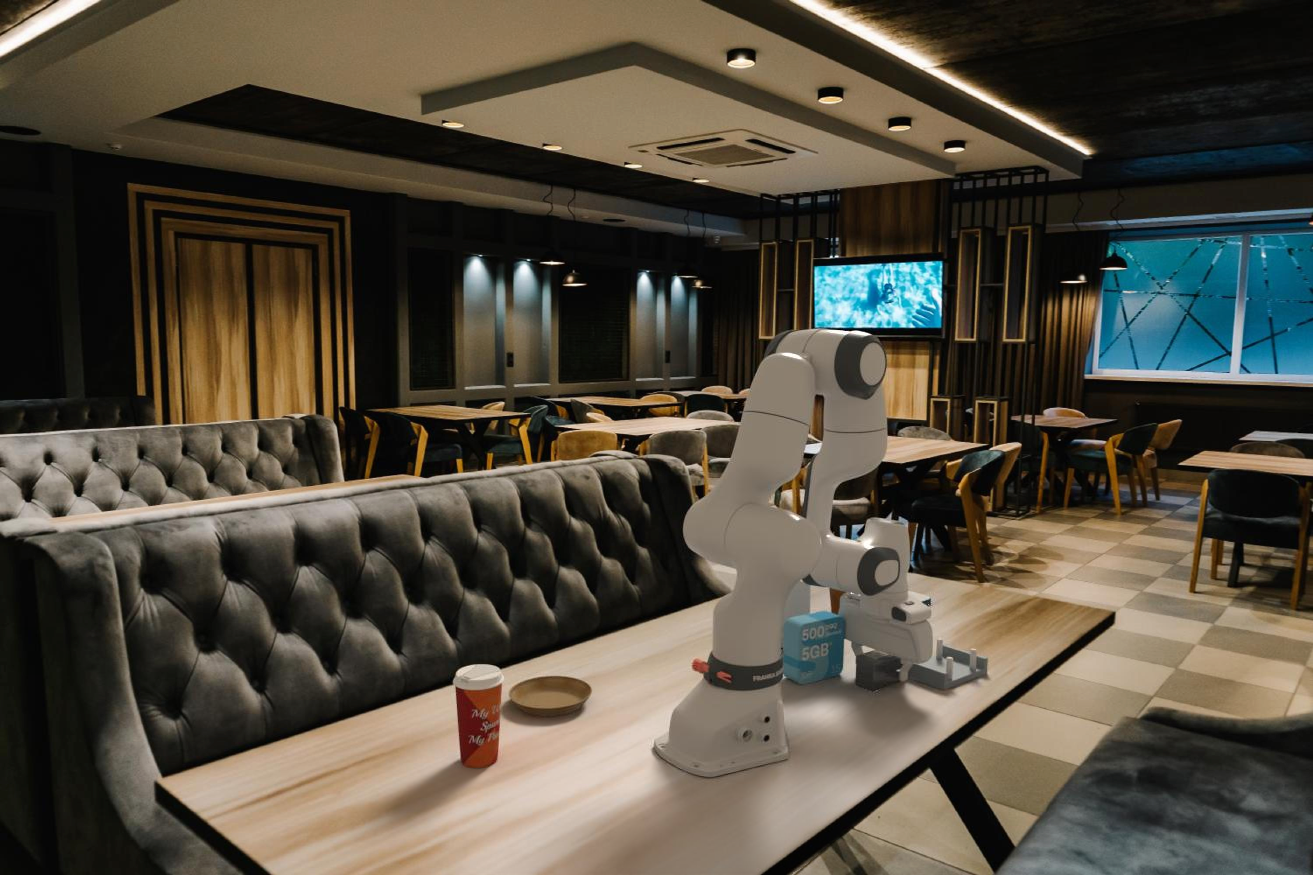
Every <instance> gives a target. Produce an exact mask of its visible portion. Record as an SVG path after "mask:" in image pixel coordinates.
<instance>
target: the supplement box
mask: <svg viewBox="0 0 1313 875" xmlns="http://www.w3.org/2000/svg"><path fill="white" fill-rule="evenodd" d="M811 587H812V585H808V584H806V583H804V582H803V581H802V580H800V581H799V582H798V583H797V584H796V585H795V586H794V588H793V589H792V591H791V592H790V594H789V596H788V599H787V601H786V604H785V608H784V612H783V620H782V634H781V649H783V640H784V624H785V622H786V620H787V619H788V618H791V617H796V616H801V615H806V614H811V597H812V596H811V594H812V593H811V589H812V588H811Z"/></svg>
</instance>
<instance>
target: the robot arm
mask: <svg viewBox="0 0 1313 875" xmlns="http://www.w3.org/2000/svg"><path fill="white" fill-rule="evenodd" d="M887 358H888V357H887V353H886V350H885V348H884V346H883V344H882V342H881V341H880V339H879V338H878V337H877V336H876V335H873V334H871V333H868V332H865V331H860V330H851V331H849V330H848V331H847V330H846V331H845V330H838V329H828V328H811V329H810V328H808V329H803V330H798V329H790V330H786V331H783V332H780V333H778V334H776V335H774V337H773V338H772V339H771V340H770V342H769V343H768V346H767V347H766V349H765V353H764V356H763V359H762V361H761V362H760V363H759V365H758V368H757V371H756V373H755V375H754V377H753V380H752V381H751V385H750V388H749V390H748V393H747V396H746V399H745V404H744V407H743V411H742V415H741V420H740V424H739V428H738V432H737V435H736V439H735V442H734V446H733V450H732V453H731V455H730V456H731V457H730V459H729V461H728V462H727V465H726V467H725V469H724V471H723V473H722V474H721V476H720V478H719V479H718V480H717V482H716V484H714V486H713V488H712V489H710V491H709V492H707V494H705V496H704V497H702V498H700V499H698V500H697V501H695V502H694V503H693V504H692V505H691V506H690V508H689V509H688V510H687V512H686V514H685V516H684V520H683V527H682V534H683V535H682V536H683V538H684V541H685V544H686V546H687V547H688V549H690V550H691V551H692V552H694V554H695V553H696V554H697V555H698V556H700V557H701V558H703V559H705V560H707V561H709V562H710V563H714V564H717V565H719V566H723V567H724V566H725V567H727V568H732V569H733V570H734V569H735V570H736V581H735V584H734V587H733V590H732V592H730V593H727V594H726V595H724V596H722V597H721V598H720V599H719V600H717V602H716V603H715V605H714V608H713V611H712V649H711V651H710V652H709V655H708V658H707V661H704V660H702V659H701V658H695V659H693V660H692V662H691V665H690V666H691V669H692V671H694V672H698V673H699V674H700V675H701V674H702V676H703V678H701V680H700V681H699V682H698V683H697V684H696V685H695V686H694V687H693V688H692V690H690V692H689V693H688V694H687V695H686V696H685V697H684V698H683V699H682V700H681V701H680V702H679V703H678V704H677V705H676V706H675V707H674V708H673V710H672V713H671V716H670V721H669V727H668V728H669V729H668V732H667V733H664V734H663V735H660V736H659V737H657V738H655V739H654V742H653V747H654V750H655V752H656V753H657V754H658V755H659V757H661V758H662V759H663V760H664V761H666V762H668V763H669V764H671V765H673V766H674V767H676V768H679V769H680V770H682V771H685V772H686V773H687V772H688V773H689V774H693V775H696V776H701V777H705V778H713V777H718V776H722V775H725V774H730V773H735V772H739V771H743V770H747V769H752V768H756V767H759V766H763V765H767V764H773V763H775V762H781V761H785V760H787V759H789V758H790V752H789V747H788V744H789V741H790V740H789V737H788V733H787V728H786V723H785V712H784V703H783V695H782V687H781V681H782V680H783V679H784V674H783V670H784V666H783V653H781V652H782V648H781V634H782V620H783V612H784V608H785V604H786V601H787V599H788V596H789V594H790V592H791V591H792V589H793V588H794V586H795V585H796V584H797V583H798V582H799V581H800V580H802V581H803V582H804V583H806V584H808V585H811V587H821V588H828V589H829V588H832V589H836V590H840V591H844V592H846V593H845V594H843V595H842V596H841V597H840V608H839V612H838V615H839V616H841V617H843V618H844V621H845V633H844V640H846V641H849V642H850V647H851V649H852V652H853V653H854V656H855V657H856V656H857V655H860V654H863V653H864V650H863V646H864V647H865V648H869V649H872V650H878V651H881V652H884V653H887V654H890V655H893V656H896V657H899V658H901V664H903V666H902V668H901V669H899V670H896V676H895V678H896V679H898V680H900V681H902V682H905V681H908V680H907V679H909V677H908V671H909V669H910V668H911V666H912V665H913V664H914V663H916V664H921V663H924V662H927V661H928V660H929V659H930V658H932V657H933V653H934V652H933V651H934V649H933V648H934V636H933V635H934V634H933V628H932V625H931V623H930V621H929V619H930V618H931V617H932V609H931V607H929V605H928V606H926V605H925V604H923V603H922V602H920V601H919V600H917V599H916V598H915V597H913V596H912V595H911V594H909V593H908V591H909V582H908V577H907V576H908V573H909V569H910V562H911V561H910V560H911V559H910V558H911V552H910V551H911V550H910V549H911V548H910V544H911V543H910V534H909V530H908V527H907V525H906V524H905V523H904V522H902V521H899V520H894V519H890V518H889V519H887V518H882V517H870V518H868V519H866V522H865V528H864V530H863V531H864V532H863V533H862V534H861V535H860V536H859V537H858V538H855V540H854V539H849V538H845V537H844V538H843V537H841V536H840V537H839V536H836V535H834V534H833V533H832V530H831V521H832V520H831V519H832V511H833V504H834V497H835V496H834V495H835V492H836V489H837V488H838V487H839V485H840V484H841V483H843V482H846V481H849V480H850V481H851V480H852V479H857V478H859V477H861V476H865V475H867V474H868V473H871V472H872V471H874V470H875V469H876V468H878V466H879V465H881V463H882V462H883V460H884V458H885V457H886V454H887V449H888V417H887V416H888V415H887V405H886V399H885V392H884V386H883V381H884V379H885V376H886V372H887V369H888V368H887V367H888V359H887ZM816 395H819V396H823V398H824V401H823V403H824V404H823V437H822V443H821V446H820V449H819V451H818V452H817V453H814V455H813V456H812V457H811V459H810V462H809V464H808V468H807V473H806V478H805V479H806V480H805V487H804V496H803V504H802V513H801V515H799V514H797V513H795V512H793V511H791V510H788V509H784V508H779V507H775V506H770V505H769V502H770V500H771V498H772V497H773V495H774V494H775V492H776V491H777V490H778V489H779V488H780V487H781V486H782V485H784V484H787V483H789V482H791V481H792V480H794V479H795V478H796V477H797V476H798V474H799V473H800V471H801V468H802V465H803V459H804V455H805V451H806V446H807V442H808V438H809V433H810V430H811V428H810V427H811V425H812V424H811V423H812V419H813V414H814V413H813V412H814V408H815V399H816V398H815V397H816ZM853 593H854V594H853ZM845 595H846V596H845Z"/></svg>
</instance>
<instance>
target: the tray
mask: <svg viewBox="0 0 1313 875" xmlns="http://www.w3.org/2000/svg"><path fill="white" fill-rule="evenodd" d="M969 650H970V651H967V650H964V649H961V648H958V647H955V646H951V645H949V644H945V643H944V639H943V638H936V653H935V656H932V657H931V658H930V659H929V660H928V661H927V662H924V663H921V664H916V663H914V664H913V665H912V666H911V668H910V669H909V671H908V679H911V680H914V681H917V682H920V683H923V684H926V685H928V686H931V687H934V688H937V689H939V690H943V691H945V690H948V689H949V690H950V689H951V688H953V687H956V686H958V685H961V684H963V683H966V682H969V681H971V680H974V679H976V678H980V677H982V676H984V675H986V674H988V667H989V666H988V664H989V662H988V661H989V657H986V656H983V655H981V654H977V653H978V649H976V648H970V649H969Z"/></svg>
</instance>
